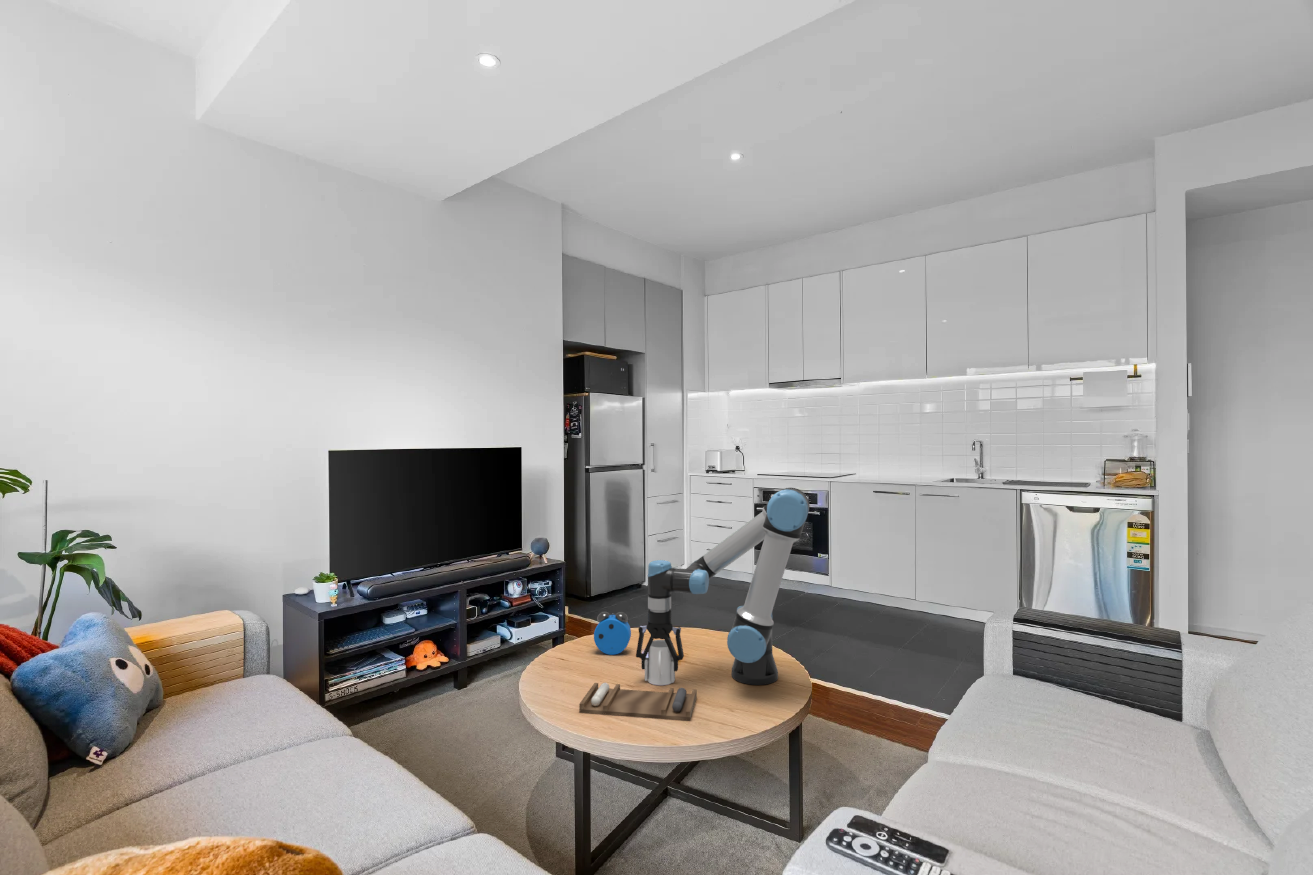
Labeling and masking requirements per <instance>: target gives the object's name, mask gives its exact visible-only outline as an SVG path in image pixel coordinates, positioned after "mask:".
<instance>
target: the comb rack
mask: <svg viewBox="0 0 1313 875" xmlns="http://www.w3.org/2000/svg"><path fill="white" fill-rule="evenodd" d="M598 689H599V682H594V683H593V684H592V686H590V688H589V690H588V691H587V693H585V696H583V698H582V700H581V701H580V703H579V704H578V706H579V707H578V709H579V712H578V713H582V714H593V715H607V716H618V717H619V716H621V717H634V718H635V717H636V718H648V719H649V718H650V719H658V720H659V719H662V720H671V721H672V720H673V721H674V720H675V721H687V722H688V721H689V722H691V719H692V716H693V712H694V708H695V705H696V701H697V697H698V696H697V690H698V689H696V688H692V690H691V693H686V697H685V700H684V703H683V706H682V709H681V711H679V712H675V711H674V710H673V708H672V705H673V702H674V699H675V696H676V694H677V692H675V688H674V687H669V689H668V691H652V690H651V691H650V690H637V689H622V688H621V684H620V683H619V684H618V683H616V684H615V686H614V687H613V688H610V687H609V690H608V692H607V694H606V695H605V697H604V698H603V700H602V701H601V703H600V704H599V705H598V706H594V705H592V703H591V699H592V697H593V696H594V695H595V693H596V692H597V690H598Z"/></svg>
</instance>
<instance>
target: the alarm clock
mask: <svg viewBox="0 0 1313 875" xmlns="http://www.w3.org/2000/svg"><path fill="white" fill-rule="evenodd" d="M596 620H597V622H598V623H597V625H596V627H595V629H594V632H593V641H594V643H595V646H596V648H597V649H598V650H599V651H601V652H602V653H604V654H606V655H609V656H611V655H612V656H614V655H619V654H621V653H622V652H624V650H625V649H627V647H628V645H629V643H630V641H631V637H632V630H631V626H630V624H629V623H628V620H629V618H628V615H627V614H626V613H625V612H623V611H619V612H617V613H613V612H612V613H609V612H607V611H600V612H599V614H598V615H597V617H596Z"/></svg>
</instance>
